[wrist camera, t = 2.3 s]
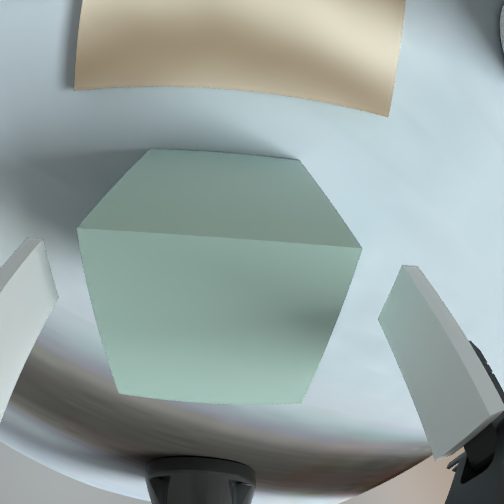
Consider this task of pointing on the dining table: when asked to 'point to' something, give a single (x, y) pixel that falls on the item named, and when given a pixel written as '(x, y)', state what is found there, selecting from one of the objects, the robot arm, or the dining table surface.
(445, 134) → the dining table surface
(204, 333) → the mint foam cube
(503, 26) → the pill bottle
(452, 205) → the dining table surface
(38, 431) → the dining table surface
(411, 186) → the dining table surface
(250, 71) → the post board
